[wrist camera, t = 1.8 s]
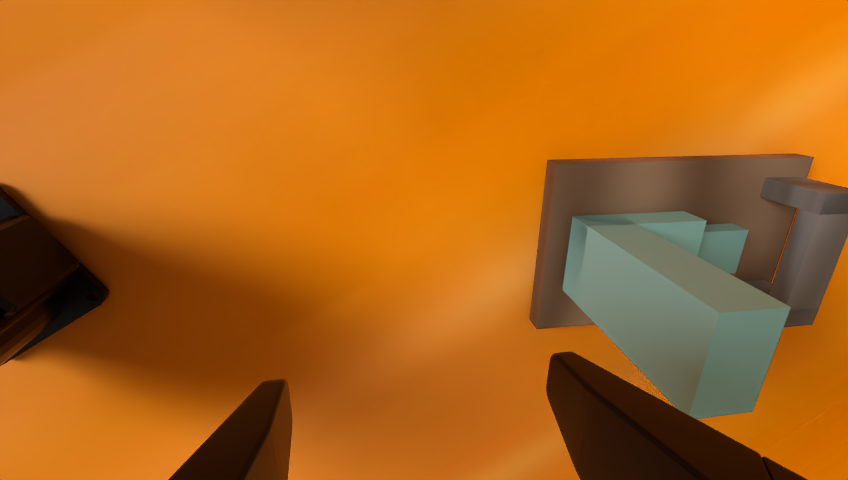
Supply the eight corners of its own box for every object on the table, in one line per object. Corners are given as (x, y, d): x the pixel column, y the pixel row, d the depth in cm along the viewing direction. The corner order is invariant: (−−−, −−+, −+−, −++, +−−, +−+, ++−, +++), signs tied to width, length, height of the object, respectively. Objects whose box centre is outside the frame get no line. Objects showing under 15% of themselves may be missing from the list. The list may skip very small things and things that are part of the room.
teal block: (562, 289, 22) (687, 420, 14) (572, 216, 21) (719, 312, 12) (716, 278, 23) (915, 391, 15) (736, 208, 22) (968, 291, 14)
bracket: (529, 319, 24) (562, 365, 20) (547, 160, 21) (590, 179, 17) (747, 301, 26) (813, 339, 22) (795, 153, 23) (882, 169, 19)
